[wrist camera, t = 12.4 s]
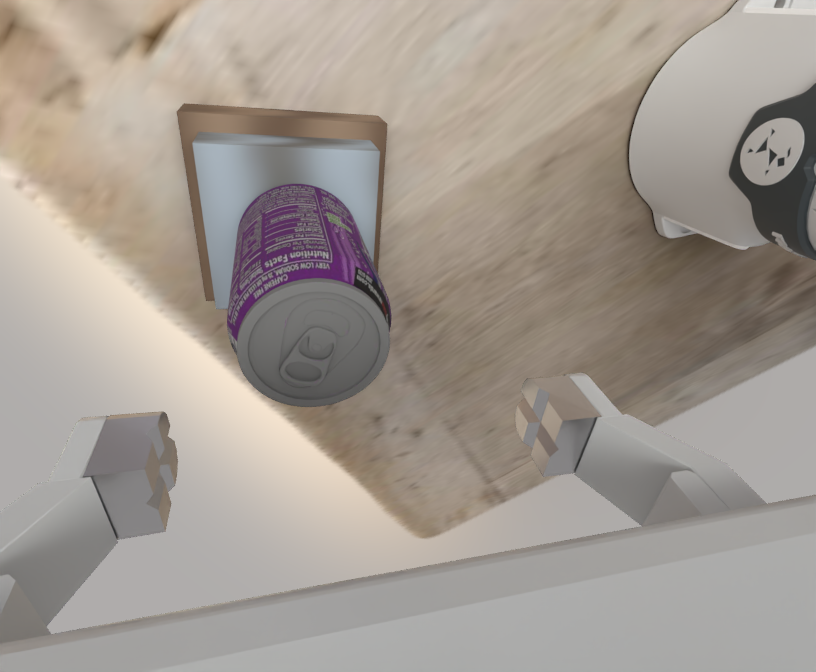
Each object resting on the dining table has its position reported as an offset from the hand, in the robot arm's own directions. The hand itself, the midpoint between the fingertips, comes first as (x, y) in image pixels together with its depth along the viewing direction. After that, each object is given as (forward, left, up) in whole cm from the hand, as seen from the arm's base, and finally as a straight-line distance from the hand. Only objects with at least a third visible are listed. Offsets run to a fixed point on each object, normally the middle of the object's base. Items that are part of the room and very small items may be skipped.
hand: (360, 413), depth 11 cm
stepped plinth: (+1, +3, -26) cm, 26 cm away
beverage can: (0, +4, -20) cm, 21 cm away
